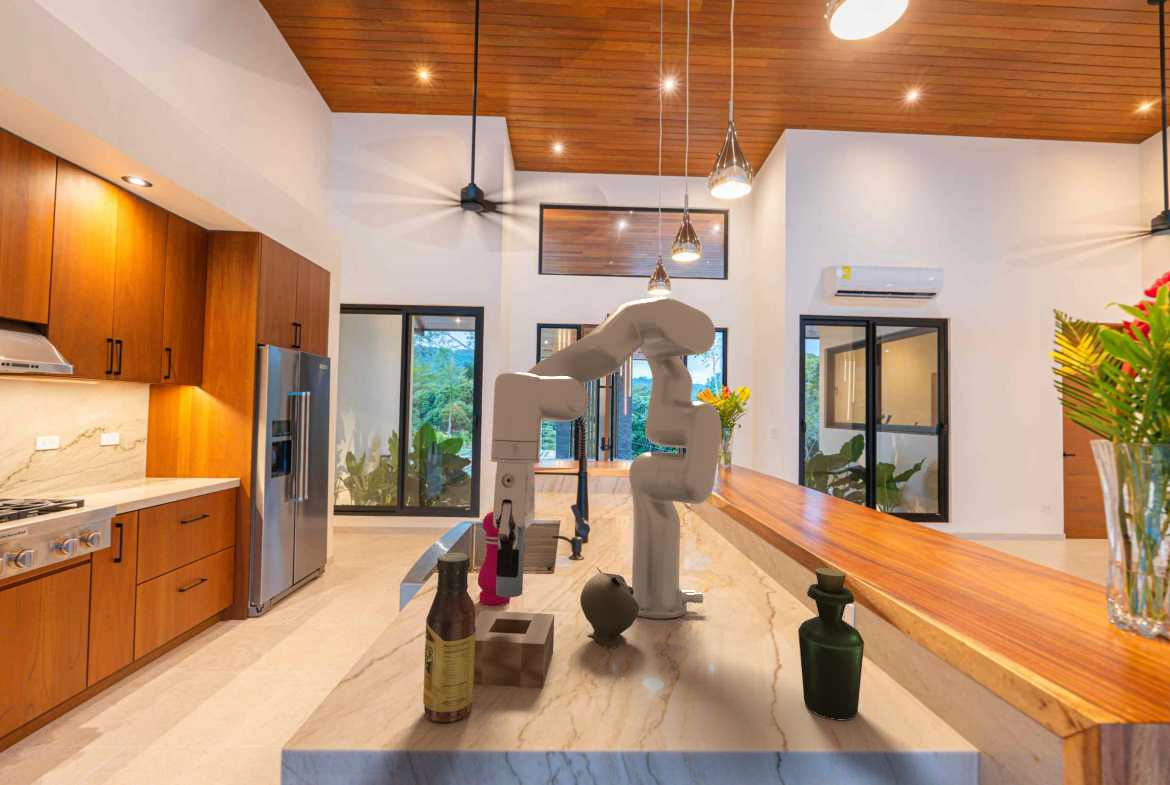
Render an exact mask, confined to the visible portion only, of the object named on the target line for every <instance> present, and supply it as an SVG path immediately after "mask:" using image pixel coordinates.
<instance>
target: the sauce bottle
mask: <svg viewBox="0 0 1170 785" xmlns="http://www.w3.org/2000/svg"><path fill="white" fill-rule="evenodd" d="M470 560H471V559H470V555H469V554H467V553H464V552H447V553H444V554H441V555H438V557H437V561H436V562H437V564H436V568H437V571H438V572H437V574H438V575H437V577H438V578H437V587H436V592H435V595H434V598H433V602H432V604H431V606H430V609H429V611H428V613H427V616H426V618H425V619H426V620H425V642H424V643H425V644H424V667H423V668H424V672H423V673H424V674H423V694H422V696H423V699H422V701H423V703H422V704H423V708H424V714H425V717H427V719H428V720H429V721H432V722H436V723H441V724H442V723H452V722H453V723H454V722H456V721H460V720H462V719H464V718H466V717H467V716H468V714H469V713H470V711H471V710H472V707H473V699H474V685H475V684H474V663H475V635H476V627H475V619H476V615H477V614H476V613H477V612H476V606H475V603H474V600H473V599H472V598H471V596H470V595H469V594H470V593H469V592H468V588H469V584H468V576H469V575H468V574H469V572H468V571H469V569H470Z"/></svg>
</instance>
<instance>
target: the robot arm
mask: <svg viewBox="0 0 1170 785" xmlns="http://www.w3.org/2000/svg"><path fill="white" fill-rule="evenodd" d="M715 341H716V328H715V325H714V323H713V320H712V319H711V318H710V316H708V315H707V313H705V312H704V311H701V310H699V309H697V308H695V307H693V306H690V305H688V304H686V303H683V302H682V301H679V300H677V299H674V298H671V297H666V296H664V297H663V296H659V297H653V298H647V299H639V300H634V301H630V302H626V303H624V304H622V305H619V307H617V308H616V309H615V310H613V311H612V312H611V313H610V314H609V315H608V316H607V317H606V318H605V319H604V320H603V321H601V323H599V324H598V325H597V326H596V327H595V328H593V329H592V330H591V331H590V332H589V333H587V335H585V336H584V337H582V338H580V339H578V340H576V341H575V342H573V343H571V344H568V345H567V346H566V347H564V348H562V349H560V350H558V351H556V352H554V353H552V354H551V355H548V356H547V357H546V358H543V359H542V360H541V361H539V362H537V364H535V365H534V366H533V367H531V368H530V369H529V370H528V371H527V372H504V373H503V372H502V373H500V374H498V375H497V376H496V379H495V382H494V391H493V392H494V393H493V407H492V408H493V410H492V412H493V413H492V430H491V432H492V435H491V452H490V453H491V454H490V462H492V463H493V462H494V463H496V469H495V480H494V492H493V493H494V494H493V511H492V512H493V524H494V526H495V528H497V529H499V539H498V549H497V570H496V575H497V576H498V577H512V578H516V577H517V576H518V568H519V550H517V546H518V533H519V527H521V530H525V531H526V529H527V528H529V527H530V526H531V525H532V523H533V522H534V521H535V516H536V515H535V513H536V512H535V507H536V504H535V499H536V498H535V497H536V495H535V494H536V483H535V482H536V481H535V479H536V473H535V464H539V463H540V462H541V461H540V460H541V458H540V456H541V439H542V438H541V435H542V422H551V423H554V422H555V423H567V422H572V421H575V420H577V419H579V418H580V417H581V416H583V415H584V413H585V412H586V411H587V409H588V406H589V402H590V401H589V399H590V397H589V393H588V390H587V387H585V385H584V384H585V383H589V382H593V381H597V380H600V379H603V378H605V377H607V376H610V375H612V374H614V373H615V372H617V371H618V370H619V369H620V368H621V367H622V366H623V365H624V364H625V363H626V362H627V361H628V360H629V359H630V358H631V357H632V356H633V355H634V353H635V352H637V350H639V349H640V351H641V353H642V354H643V356H644V358H645V360H646V361H647V364H648V366H649V369H650V372H651V376H652V379H651V380H652V383H651V391H650V397H649V402H648V408H647V414H646V420H645V431H644V432H645V436H646V438H647V440H648V442H650V443H651V444H653V445H655V446H660V447H666V448H668V447H669V448H681V449H683V448H684V449H685V450H686V451H685V453H676V452H675V453H674V452H667V451H647V452H643V453H640V454H639V455H637V456H636V457H635V458H634V459H633V460H632V462H631V464H630V467H629V476H628V477H629V484H630V485H629V486H630V490H631V497H632V507H633V509H632V511H633V524H632V525H633V526H632V527H633V530H632V533H633V534H632V568H631V569H632V574H631V575H632V577H631V578H632V579H631V580H632V581H631V582H632V583H631V587H632V588H633V590H634V594H633V595H632V596H633V598H634V599H635V600H636V602H637V603H638V605H639V612H638V615H637V617H638V616H639V617H642V618H647V619H655V620H656V619H657V620H658V619H659V620H661V619H662V620H664V619H665V620H666V619H673V618H675V619H676V618H678V617H681V616H683V615H685V614H686V613H687V607H688V605H687V604H688V603H693V604H703V603H704V595H703V592H696V590H693V589H692V590H691V589H690V590H689V589H688V590H687V589H686V590H684V589H683V588H682V587H681V584H680V556H681V555H680V554H681V553H680V552H681V549H680V548H681V520H680V519H681V518H680V515H679V513H678V510H677V508H676V506H675V503H674V502H678V503H684V504H693V505H694V504H695V505H697V504H702V503H705V502H707V500H708V499H709V498H710V496H711V494H712V493H713V490H714V486H715V480H716V474H717V468H718V460H719V454H720V448H721V439H722V421H721V416H720V412H719V411H718V409H717V408H716V407H715V406H714V405H713V404H712V403H709V402H706V401H698V400H697V401H694V400H693V401H692V392H693V379H692V375H691V374H690V371H689V369H688V368H687V366H686V365H685V363H683V361H682V359H681V358H680V357H685V356H698V355H702V354H706V353H707V352H709V351H710V350H711V348H712V347H713V346H714V343H715ZM499 520H500V521H499ZM510 524H515V529H514V528H510ZM510 533H514V536H512V534H510ZM525 546H526V544H525V542H524V551H525ZM524 566H525V565H524ZM524 566H523V568H524Z"/></svg>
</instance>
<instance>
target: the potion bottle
mask: <svg viewBox="0 0 1170 785" xmlns="http://www.w3.org/2000/svg"><path fill="white" fill-rule="evenodd" d="M814 571H815V576H816V580H817V583H813V584H810V585H809V587H808V589H807V593H806V595H807V597H808V598H810V599H811V600H813V601H815V605H816V609H817V612H818V615H817V616H814V617H812V618H809V619H807V620H804V621H803V622H802V623H801V625H800V627H798V629H797V630H798V631H797V633H798V643H799V644H798V645H799V655H800V666H801V667H800V669H801V678H802V689H803V690H802V691H803V701H804V704H805V705H807V706H808V707H807V706H806V707H807V708H808V709H809V710H810V711H811V710H812V711H814V712H816V713H817V714H819V715H822V716H825V717H828V718H833V719H849V718H852V717H854V718H855V717H856V715H857V714H858V712H859V701H860V692H861V691H860V690H861V682H862V681H861V680H862V679H861V678H862V670H863V669H862V668H863V659H864V647H865V642H864V639H863V638H862V635H861V634H860V632H859V630H858V629H857V628H855V627H853V626H852V625H851V624H850V623H848V622H846V621H845V620H843V617H844V613H845V611H846V610H845V609H846V606H847V605H850V604H853V603H854V602H855V599H854V596H853V595H854V594H853V592H852V591H851V589H849V588H847V587H845V585H844V584H845V580H846V576H847V574H846V571H845V572H844V571H842V570H840V569H835V568H827V567H820V568H816V569H815V570H814ZM812 711H811V712H812ZM814 712H813V713H814ZM816 713H815V714H816ZM817 714H816V715H817ZM819 715H818V716H819ZM822 716H821V717H822ZM825 717H824V718H825ZM828 718H827V719H828ZM833 719H832V720H833ZM852 719H853V718H852ZM849 720H850V719H849Z"/></svg>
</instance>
